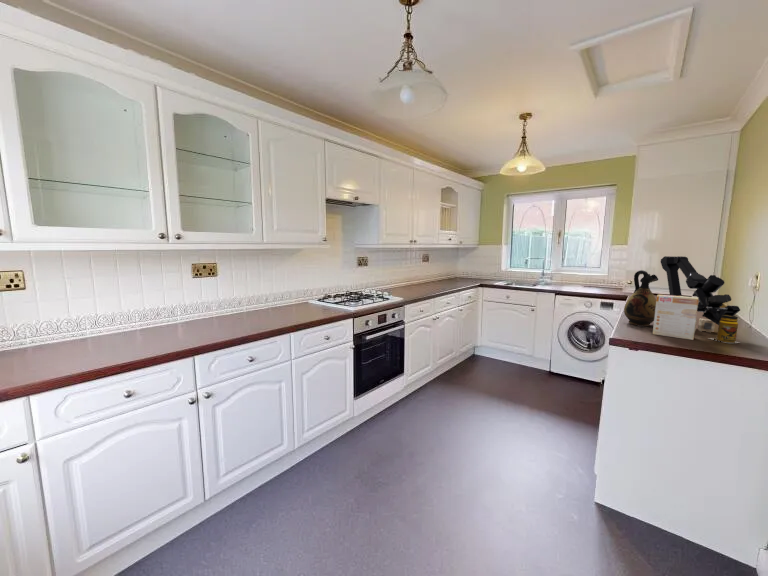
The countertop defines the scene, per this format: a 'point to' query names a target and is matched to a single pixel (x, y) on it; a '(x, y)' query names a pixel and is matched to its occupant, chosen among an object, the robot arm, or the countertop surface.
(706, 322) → the beech block
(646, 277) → the ceramic jug
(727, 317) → the condiment
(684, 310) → the coffeecake box
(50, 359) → the countertop surface
